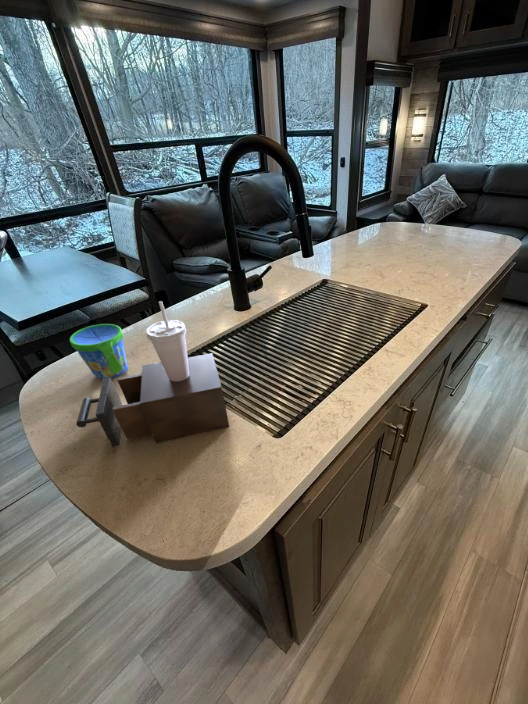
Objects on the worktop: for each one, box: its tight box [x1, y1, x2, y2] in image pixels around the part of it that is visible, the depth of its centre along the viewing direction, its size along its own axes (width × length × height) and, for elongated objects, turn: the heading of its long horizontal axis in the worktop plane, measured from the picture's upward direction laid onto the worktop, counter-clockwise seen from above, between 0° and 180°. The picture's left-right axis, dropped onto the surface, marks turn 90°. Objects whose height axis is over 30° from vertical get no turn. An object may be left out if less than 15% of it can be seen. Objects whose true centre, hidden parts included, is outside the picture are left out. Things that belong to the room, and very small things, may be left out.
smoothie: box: [145, 300, 190, 381], centre depth 57 cm, size 6×6×14 cm
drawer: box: [75, 373, 153, 448], centre depth 62 cm, size 17×11×8 cm
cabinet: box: [140, 353, 230, 444], centre depth 65 cm, size 14×13×10 cm
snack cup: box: [69, 323, 129, 380], centre depth 77 cm, size 16×10×10 cm
